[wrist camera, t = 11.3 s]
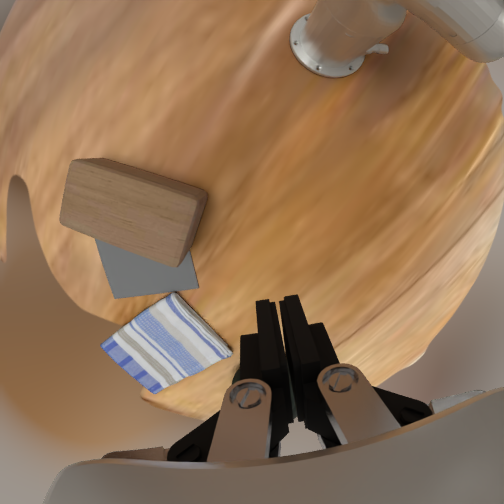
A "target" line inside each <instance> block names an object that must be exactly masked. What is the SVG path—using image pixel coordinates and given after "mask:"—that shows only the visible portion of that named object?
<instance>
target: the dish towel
mask: <svg viewBox="0 0 504 504" xmlns="http://www.w3.org/2000/svg"><path fill="white" fill-rule="evenodd" d="M100 346H101V347H102V349H104V351H106V353H107V354H108V355H109V356H110V357H111V358H112V359H113V360H114V361H115V362H116V363H117V364H118V365H119V366H121V367H122V368H123V369H124V370H125V371H126V372H127V373H128V374H130V375H131V376H132V377H133V378H135V379H136V380H137V381H138V382H139V383H141V384H142V385H143V386H144V387H145V388H147V389H148V390H149V391H150V392H152V393H153V394H156V393H158V392H160V391H161V390H163V389H164V388H166V387H168V386H170V385H173V384H176V383H178V382H179V381H181V380H182V379H183V378H185V377H188V376H191V375H194V374H197V373H199V372H200V371H202V370H204V369H206V368H207V367H209V366H211V365H213V364H214V363H216V362H218V361H220V360H222V359H225V358H227V357H231V356H232V355H233V353H232V351H230V349H229V348H228V347H227V346H228V344H226V343H225V342H224V341H223V340H222V339H221V338H220V337H219V336H218V335H217V334H216V333H215V332H214V330H213V329H212V328H210V326H209V325H208V324H207V323H206V322H205V321H204V320H203V319H202V318H201V317H200V316H199V315H198V314H197V313H196V312H195V311H194V310H193V309H192V308H191V307H190V306H189V305H188V304H187V303H186V302H185V301H184V300H183V299H182V298H181V297H180V296H179V295H178V294H177V293H175V292H173V293H171V294H170V295H168V296H167V297H165V298H163V299H161V300H160V301H158V302H157V303H155V304H154V305H152V306H151V307H149V308H147V309H146V310H144V311H143V312H141V313H140V314H139V315H137V316H136V317H135V318H134V319H133V320H132V321H130V322H129V323H128V324H126V325H125V326H123V327H121V328H120V329H119V330H118V331H117V332H116V333H114V334H113V335H112V336H111V337H109V338H108V339H107V340H106V341H104V342H103V343H102V344H101V345H100Z"/></svg>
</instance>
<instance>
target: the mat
mask: <svg viewBox="0 0 504 504" xmlns="http://www.w3.org/2000/svg"><path fill="white" fill-rule="evenodd" d="M95 241H96V244H97V248H98V251H99V254H100V257H101V261H102V264H103V267H104V270H105V273H106V276H107V279H108V282H109V285H110V287H111V290H112V293H113V296H114V298H115V299H117V298H126V297H134V296H142V295H151V294H158V293H166V292H174V291H182V290H189V289H196V288H199V285H198V281H197V277H196V273H195V269H194V265H193V261H192V257H191V253H190V250H189V251H188V253H187V255H186V256H185V258H184V260H183V261H182V263H181V264H180V265H179V267H170V266H167V265H164V264H162V263H159V262H156V261H153V260H151V259H148V258H145V257H142V256H140V255H137V254H134V253H132V252H129V251H126V250H124V249H121V248H119V247H116V246H113V245H111V244H108V243H106V242H103V241H101V240H98V239H95Z"/></svg>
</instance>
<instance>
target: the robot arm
mask: <svg viewBox="0 0 504 504" xmlns="http://www.w3.org/2000/svg"><path fill="white" fill-rule="evenodd" d="M407 10H408V11H409V12H411V13H412V14H413V15H415V16H417V17H419V18H420V19H421V20H422V21H424V22H425V23H426V24H428V25H429V26H430V27H431V28H433V29H434V30H435V31H436V32H437V33H439V34H440V35H441V36H442V37H443V38H444V39H445V40H447V41H448V42H449V43H450V44H451V45H452V46H453V47H454V48H456V49H457V50H458V51H459V52H460V53H462V54H463V55H464V56H466V57H467V58H469V59H471V60H473V61H475V62H479V63H489V62H493V61H496V60H498V59H500V58H502V57H504V0H318V1H317V3H316V5H315V7H314V9H313V11H312V12H311V13H310V14H307V15H305V16H303V17H301V18H300V19H298V20H297V21H296V23H295V24H294V25H293V27H292V30H291V33H290V47H291V49H292V52H293V54H294V55H295V57H296V58H297V60H298V61H299V62H300V63H301V64H302V65H303V66H304V67H306V68H307V69H308V70H310V71H312V72H314V73H316V74H318V75H321V76H325V77H330V78H339V77H345V76H348V75H350V74H352V73H354V72H355V71H356V70H358V69H359V67H360V66H361V65H362V63H363V61H364V58H365V55H366V54H371V53H377V54H388V51H389V49H388V46H387V45H386V44H381V43H379V42H380V41H382V40H383V39H384V38H386V37H387V36H389V35H390V34H392V33H393V32H395V31H396V30H397V29H398V28H399V27H400V26H401V25H402V23H403V22H404V19H405V16H406V11H407ZM306 20H307V21H306ZM294 44H296V45H294ZM316 68H318V69H319V70H317V69H316ZM349 68H350V70H349ZM279 304H280V312H281V319H282V327H283V335H284V343H285V351H286V356H285V351H284V346H283V340H282V335H281V330H280V325H279V320H278V315H277V309H276V304H275V302H269V299H266V300H260V301H256V313H257V326H258V333H255V334H248V335H241V337H240V381H238V382H236V383H234V384H232V385H231V386H230V387H229V388H228V389H227V391H226V393H225V395H224V399H223V402H222V406H221V410H219V411H218V412H217V413H216V414H214V415H213V416H212V417H210V418H209V419H208V420H206V421H205V422H204V423H202V424H201V425H200V426H198V427H197V428H196V429H194V430H193V431H191V432H190V433H189V434H187V435H186V436H184V437H183V438H182V439H180V440H179V441H177V442H176V443H175V444H174V445H172V446H171V448H168V449H164V448H163V447H155V448H148V449H138V450H129V451H116V452H111V453H108V454H106V455H104V456H103V457H102V458H101V459H93V460H88V461H81V462H78V463H74V464H71V465H69V466H67V467H65V468H64V469H63V470H62V471H60V472H59V474H58V475H57V476H56V478H55V479H54V481H53V483H52V485H51V486H50V488H49V490H48V492H47V495H46V497H45V499H44V502H43V504H504V387H500V388H497V389H493V390H490V391H487V392H486V391H482V390H474V391H470V392H466V393H462V394H459V395H454V396H449V397H445V398H440V399H435V400H431V402H430V403H429V404H425V403H423V402H421V401H419V400H415V399H412V398H409V397H405V396H402V395H398V394H395V393H392V392H389V391H386V390H383V389H380V388H377V387H374V386H371V384H370V383H369V381H368V380H367V379H366V377H365V376H364V375H363V373H362V372H361V371H360V370H359V369H358V368H357V367H355V366H353V365H350V364H345V363H344V364H340V363H339V360H338V358H337V356H336V353H335V351H334V348H333V346H332V343H331V341H330V339H329V336H328V334H327V331H326V329H325V327H324V324H323V323H322V322H321V323H316V324H310V325H308V323H307V320H306V317H305V314H304V311H303V308H302V306H301V303H300V300H299V297H298V295H291V296H285V297H284V300H283V301H279ZM286 358H287V361H286ZM287 364H288V368H287ZM288 369H289V374H290V379H291V385H292V390H293V395H294V401H295V406H296V411H297V417H298V421H299V422H301V421H304V423H305V428H308V429H309V430H311V431H313V432H315V433H317V436H318V440H319V442H320V444H321V446H322V449H323V450H318V451H313V452H308V453H302V454H296V455H290V456H283V457H280V450H281V442H280V441H281V440H282V439H283V438H284V437H285V436H286V435H287V434H288V433H289V427H288V423H293V422H294V420H293V411H292V401H291V392H290V384H289V375H288Z"/></svg>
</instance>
